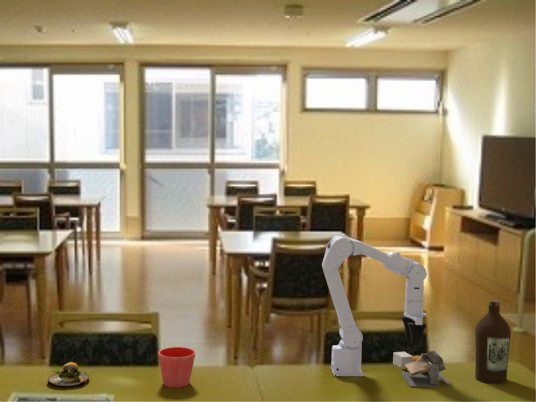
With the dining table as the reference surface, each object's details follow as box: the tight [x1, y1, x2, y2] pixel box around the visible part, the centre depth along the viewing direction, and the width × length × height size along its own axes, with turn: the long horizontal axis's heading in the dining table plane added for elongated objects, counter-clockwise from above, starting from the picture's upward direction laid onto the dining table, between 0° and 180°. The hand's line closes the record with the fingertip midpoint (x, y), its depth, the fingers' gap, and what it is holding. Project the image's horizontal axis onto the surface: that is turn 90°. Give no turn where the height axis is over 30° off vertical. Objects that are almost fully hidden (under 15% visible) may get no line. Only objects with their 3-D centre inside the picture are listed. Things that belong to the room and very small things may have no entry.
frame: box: [420, 353, 451, 388], centre depth 217 cm, size 6×12×7 cm, turn 2°
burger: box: [47, 357, 90, 387], centre depth 208 cm, size 12×12×8 cm
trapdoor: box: [405, 349, 446, 376], centre depth 217 cm, size 10×9×4 cm
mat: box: [400, 371, 440, 388], centre depth 217 cm, size 9×13×1 cm
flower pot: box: [158, 346, 196, 388], centre depth 209 cm, size 11×11×10 cm
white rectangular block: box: [392, 351, 414, 368], centre depth 231 cm, size 4×4×6 cm
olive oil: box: [474, 299, 512, 385], centre depth 219 cm, size 11×11×25 cm
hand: (412, 341), depth 223 cm, fingers open, 7 cm apart
